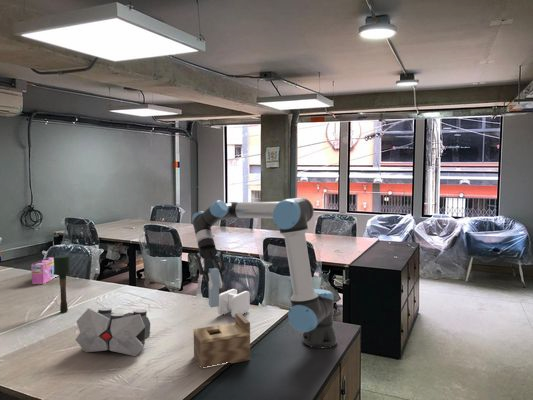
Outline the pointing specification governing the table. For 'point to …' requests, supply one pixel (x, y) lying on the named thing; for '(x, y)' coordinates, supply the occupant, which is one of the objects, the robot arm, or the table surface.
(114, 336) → the electronic device
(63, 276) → the stick grenade
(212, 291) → the blue-gray rectangular block
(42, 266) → the gum box
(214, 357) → the open wooden box
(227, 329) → the tan holed block
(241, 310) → the cable organizer
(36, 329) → the table surface
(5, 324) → the table surface
